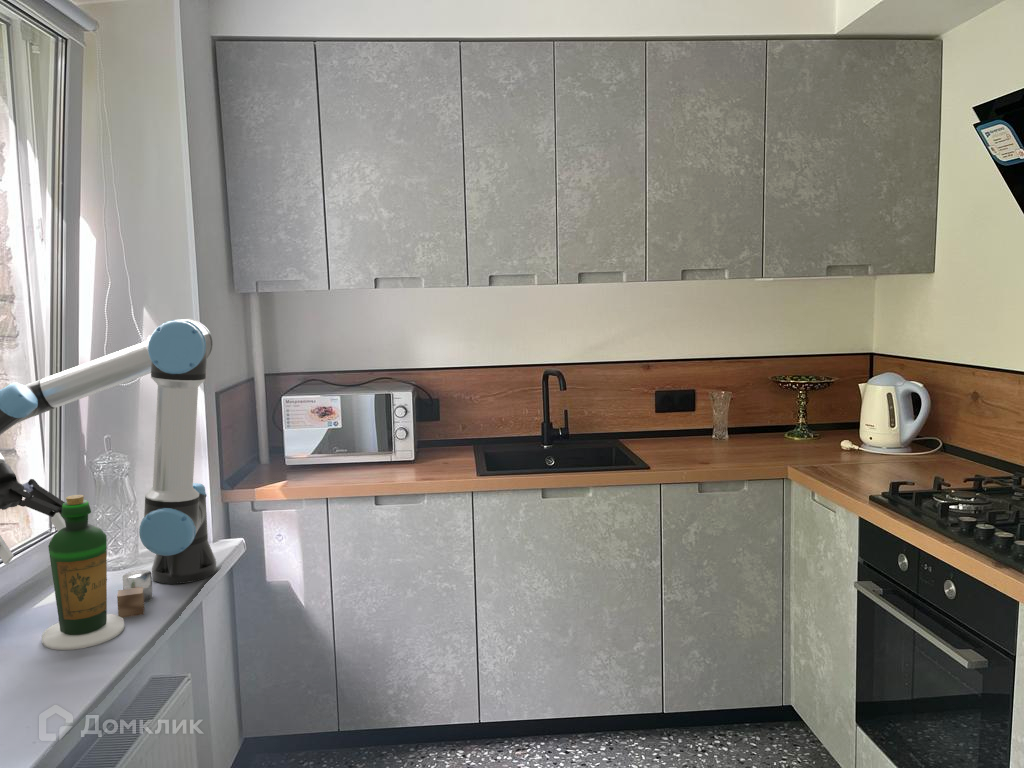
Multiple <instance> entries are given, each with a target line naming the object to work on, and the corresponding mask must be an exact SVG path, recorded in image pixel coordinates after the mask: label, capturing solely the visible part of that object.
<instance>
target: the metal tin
mask: <svg viewBox="0 0 1024 768" xmlns="http://www.w3.org/2000/svg"><path fill="white" fill-rule="evenodd" d="M152 582H153V579H152V570H148V569H139V570H133V571H132V570H131V571H130V572H126V573H125V574H123V575H122V590H124V589H131V588H139V587H143V592H144V604H145V603H147V602H150V601H151V600H152V599H153V597H154V596H153V583H152Z"/></svg>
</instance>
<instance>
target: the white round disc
mask: <svg viewBox="0 0 1024 768" xmlns="http://www.w3.org/2000/svg"><path fill="white" fill-rule="evenodd" d="M124 629H125V620H124V618H122V617H120V616H118V614H111V613H107V621H106V624H105V625H104V626H103V627H101V628H100V629H98V630H96V631H93V632H91V633H87V634H81V635H68V634H65V633H63V632H61V631H60V625H59V622H57V623H55V624H53V625H50V627H47V628H46V629H45V630H44V631H43V632H42V635H41V643H42V645H43V646H44V647H45V648H47V649H50V650H56V651H73V650H80V649H84V648H85V649H86V648H91V647H94V646H97V645H100V644H103V643H106V642H108V641H110V640H112V639H115V638H116V637H118V636H119V635H120V634H122V632H123V631H124Z"/></svg>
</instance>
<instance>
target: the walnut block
mask: <svg viewBox="0 0 1024 768" xmlns="http://www.w3.org/2000/svg"><path fill="white" fill-rule="evenodd" d="M116 596H117V597H116V599H117V600H116V601H117V615H118V616H120V617H122V618H123V619H125V618H127V617H128V618H129V617H136V616H143V615H145V603H144V592H143V587H139V588H131V589H124V590H123V589H119V590H117V595H116Z"/></svg>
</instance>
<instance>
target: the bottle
mask: <svg viewBox="0 0 1024 768" xmlns="http://www.w3.org/2000/svg"><path fill="white" fill-rule="evenodd" d="M65 500H66V501H65V503H63V506H62V512H61V516H62V517H64V519H65V525H66V527H65V528H62V529H61V530H60V531H57V532H55V534H53V536H52V538H50V539H51V540H50V541H49V543H48V546H47V547H48V554H49V560H50V567H51V568H50V569H51V574H52V582H53V589H54V596H55V602H56V609H57V610H56V611H57V616H58V623H59V625H60V631H61V632H63V633H65V634H68V635H81V634H87V633H91V632H93V631H96V630H98V629H100V628H101V627H103V626H104V625H105V624H106V621H107V614H108V613H107V612H108V610H107V609H108V608H107V603H108V602H107V601H108V600H107V599H108V597H107V595H108V594H107V593H108V592H107V591H108V590H107V589H108V588H107V585H108V584H107V582H108V581H107V579H108V578H107V575H108V574H107V572H108V571H107V563H108V561H107V559H108V558H107V556H108V554H107V551H108V550H107V541H108V540H107V536H108V535H107V534H106V533H105V532H104V531H103V530H102V528H100V527H98V526H95V525H93V524H90V523H88V522H89V514H91V513H92V509H91V506H90V502H89V501H88V500H86V499H85V495H83V494H72V495H68V496H66V497H65Z"/></svg>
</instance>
